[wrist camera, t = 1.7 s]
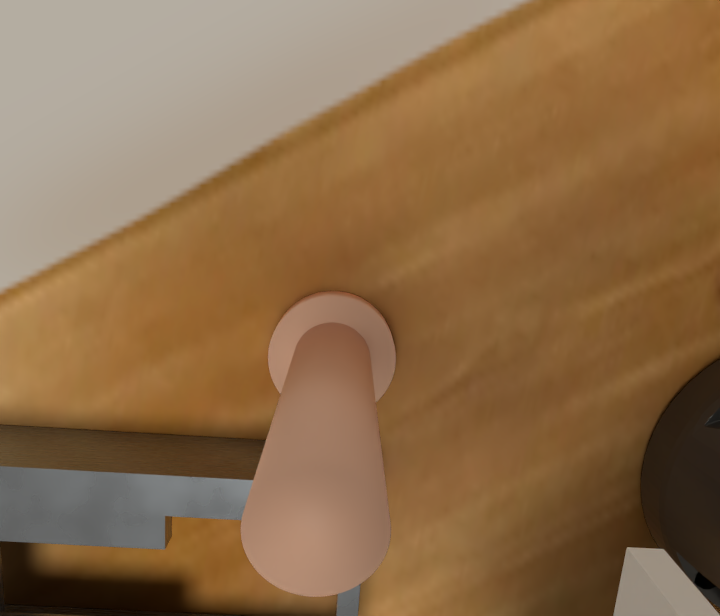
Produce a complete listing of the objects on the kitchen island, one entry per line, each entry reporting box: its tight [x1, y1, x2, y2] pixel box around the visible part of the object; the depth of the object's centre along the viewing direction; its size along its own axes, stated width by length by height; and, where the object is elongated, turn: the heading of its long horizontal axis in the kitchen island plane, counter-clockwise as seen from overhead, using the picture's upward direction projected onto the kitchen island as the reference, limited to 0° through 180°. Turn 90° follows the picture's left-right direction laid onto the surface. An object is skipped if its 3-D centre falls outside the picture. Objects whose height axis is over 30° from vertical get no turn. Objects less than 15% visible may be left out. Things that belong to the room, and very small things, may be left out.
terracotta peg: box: [241, 291, 396, 597], centre depth 21 cm, size 6×6×15 cm
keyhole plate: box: [0, 425, 360, 616], centre depth 29 cm, size 21×12×4 cm, turn 86°
